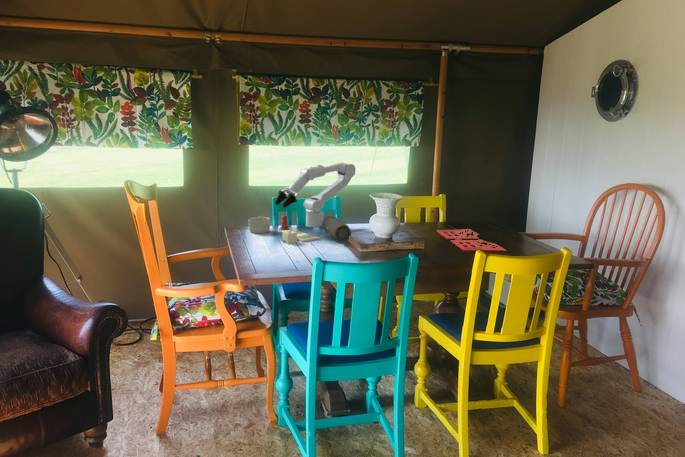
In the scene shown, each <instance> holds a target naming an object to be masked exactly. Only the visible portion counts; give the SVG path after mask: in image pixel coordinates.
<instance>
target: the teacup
mask: <svg viewBox="0 0 685 457" xmlns="http://www.w3.org/2000/svg"><path fill="white" fill-rule="evenodd" d="M247 220H248V229H249V232H250V233H251V234H257V235H258V234H259V235H260V234H262V235H263V234H266V233H268V232H269V231H271V230H270V228H271V221H270V220H271V218H270V217H266V216H255V217H254V216H253V217H250V218H248V219H247Z"/></svg>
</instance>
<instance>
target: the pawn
mask: <svg viewBox="0 0 685 457" xmlns="http://www.w3.org/2000/svg"><path fill="white" fill-rule="evenodd" d="M280 219H281V226H280V228H279V229H281V230H283V231H284V230H288V229H289V228H290V227H289V225H288V223H289V217H288V216H287V215H286V214H284V215H282V216H281V218H280Z"/></svg>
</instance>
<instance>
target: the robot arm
mask: <svg viewBox="0 0 685 457" xmlns="http://www.w3.org/2000/svg"><path fill="white" fill-rule="evenodd" d="M334 172H337V180H335V181H333V183H332V184H330V185H329V186H327V188H325V189H324V190H322V192H319V193H318V194H317V195H312V196H311V197H308V198H306V199H304V202H303V208H304V209H305V227H308V228H317V227H318V228H319V227H321V228H323V227H322V221H323V219H324V218H325V215H324V212H323V211H321V210H322V208H323V207H324V206H325V202H326V201H327V202H328V200H330V199H331V198H332V197H333V196H335V195H336V194H338V192H340V191H341V190H343V189H344V188H345V187H346V186H348V185H349V183H350V181H351V179H352V178H353V177H354V176H355V175H356V165H354V164H353V163H346V162H337V163H334V164H330V165H327V166H323V165H322V164H317V166H309V168H307V167H305V168H303V169H300V172H299V175H298V176H297V177H296V178H295V179H294V181H292V183H291V184H290V185H289V186H288V187H287V186H285V188H283V189H281V190H279V191H278V194H277V197H276V200H275V201H274V204H275V205H276V206H278V205H280V204H281V203H282V202H283V203H282V204H281V205H282V207H283V208H284V209H286V208H287V207H288V206H290V205H292V204H294V203H297V199H299V198H300V195H299V193H301V192H300V191H302V190H303V189H304V187H305V186H306V185H307V184H308V183H309V181H313V180H315V179H316V178H317V179H318V178H322V177H324V176H326V174H328V173H334Z"/></svg>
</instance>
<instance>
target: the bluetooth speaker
mask: <svg viewBox="0 0 685 457" xmlns="http://www.w3.org/2000/svg"><path fill="white" fill-rule="evenodd" d="M321 228H323V230H324V232H326V233H327V234H328V235H329V237H330V238H331V239H332V240H333V241H335V242H341V243H344V242H347V241H348V240H349V239H350V238H349V236H350V237H351V236H352V231H351V228H350V227H349V225H348V224H347V223H345V222H344V221H342V220H341V219H340V218H337V217H336V216H333V215H327V216H324V219H323V221H322V227H321Z"/></svg>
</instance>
